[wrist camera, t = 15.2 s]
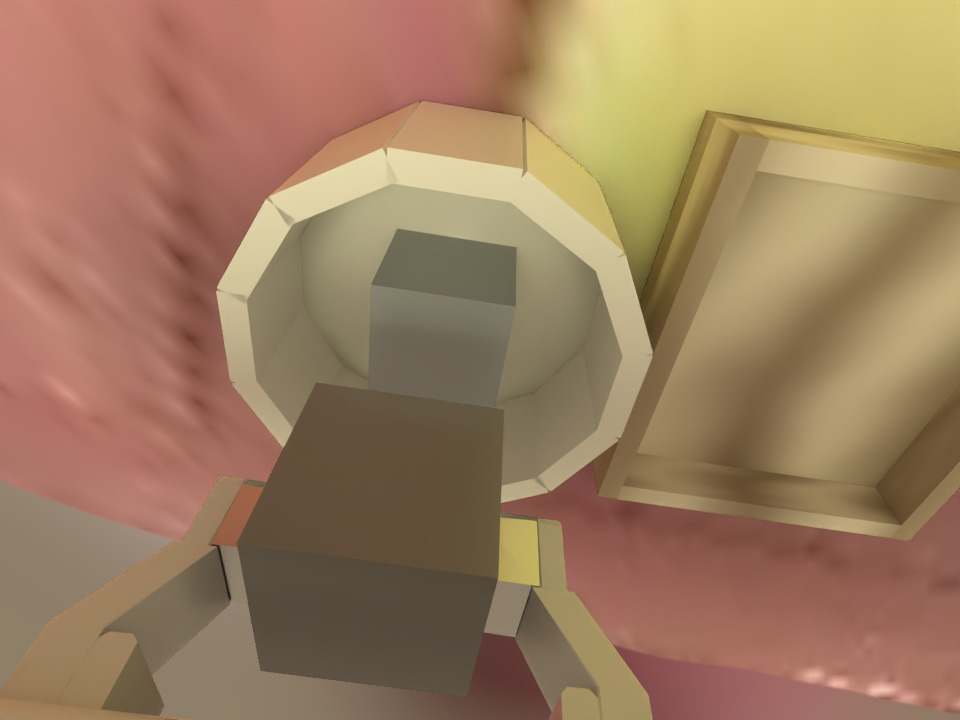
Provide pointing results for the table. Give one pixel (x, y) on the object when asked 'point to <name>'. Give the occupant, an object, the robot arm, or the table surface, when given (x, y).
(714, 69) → the table surface
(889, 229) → the parts tray
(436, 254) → the taupe cube
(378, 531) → the charcoal cube
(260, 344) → the bowl
